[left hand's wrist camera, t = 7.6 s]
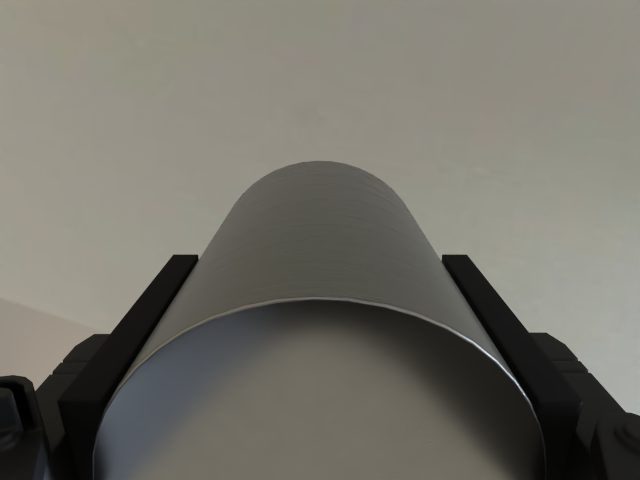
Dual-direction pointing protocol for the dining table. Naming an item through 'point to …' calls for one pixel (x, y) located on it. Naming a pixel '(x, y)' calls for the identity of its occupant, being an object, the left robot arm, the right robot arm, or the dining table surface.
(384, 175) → the dining table surface
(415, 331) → the canister
